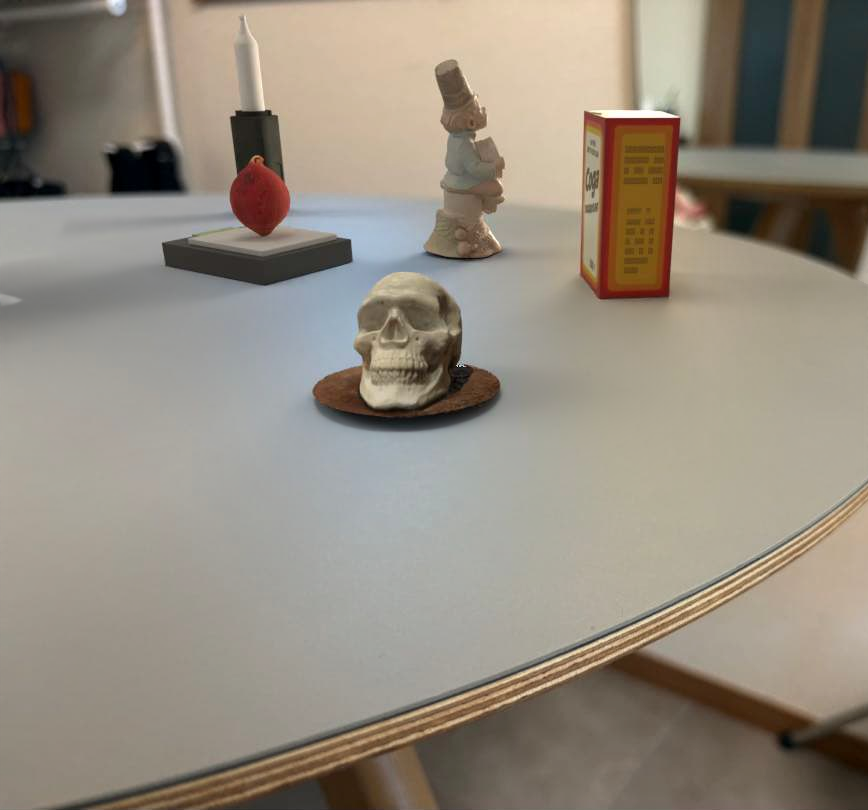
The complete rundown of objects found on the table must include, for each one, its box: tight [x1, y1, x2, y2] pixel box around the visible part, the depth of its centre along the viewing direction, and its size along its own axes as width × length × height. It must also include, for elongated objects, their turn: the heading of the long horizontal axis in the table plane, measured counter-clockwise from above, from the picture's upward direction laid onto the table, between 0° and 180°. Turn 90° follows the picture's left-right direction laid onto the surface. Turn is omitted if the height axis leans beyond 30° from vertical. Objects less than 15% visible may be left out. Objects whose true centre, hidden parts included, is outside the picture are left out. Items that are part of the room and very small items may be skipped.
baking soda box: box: [579, 109, 682, 300], centre depth 79 cm, size 10×6×16 cm
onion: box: [229, 155, 291, 236], centre depth 86 cm, size 6×6×8 cm
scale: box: [161, 224, 354, 286], centre depth 89 cm, size 15×12×3 cm
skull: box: [312, 271, 501, 419], centre depth 55 cm, size 12×10×10 cm
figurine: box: [422, 58, 507, 259], centre depth 91 cm, size 9×8×20 cm
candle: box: [229, 13, 286, 184], centre depth 112 cm, size 5×5×25 cm
